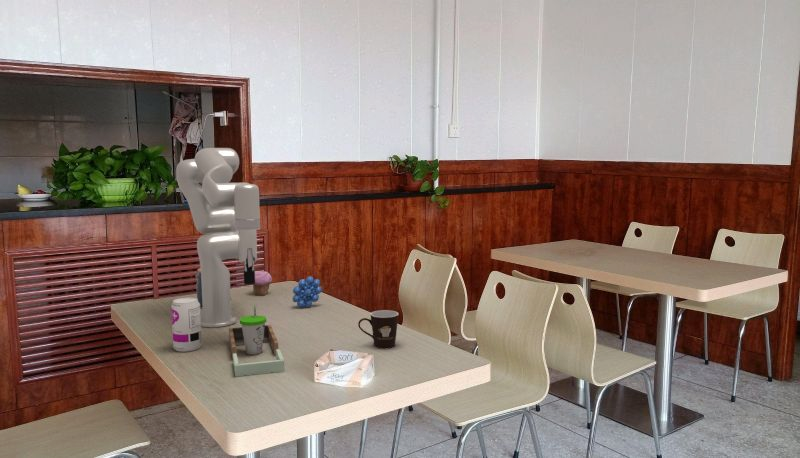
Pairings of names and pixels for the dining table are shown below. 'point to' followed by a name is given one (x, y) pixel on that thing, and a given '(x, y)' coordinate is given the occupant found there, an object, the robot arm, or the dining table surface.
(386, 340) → the coffee mug
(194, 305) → the supplement can
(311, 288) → the grapes
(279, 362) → the bay
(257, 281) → the cupcake
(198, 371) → the dining table surface
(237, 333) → the brown wooden tray
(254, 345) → the cup
